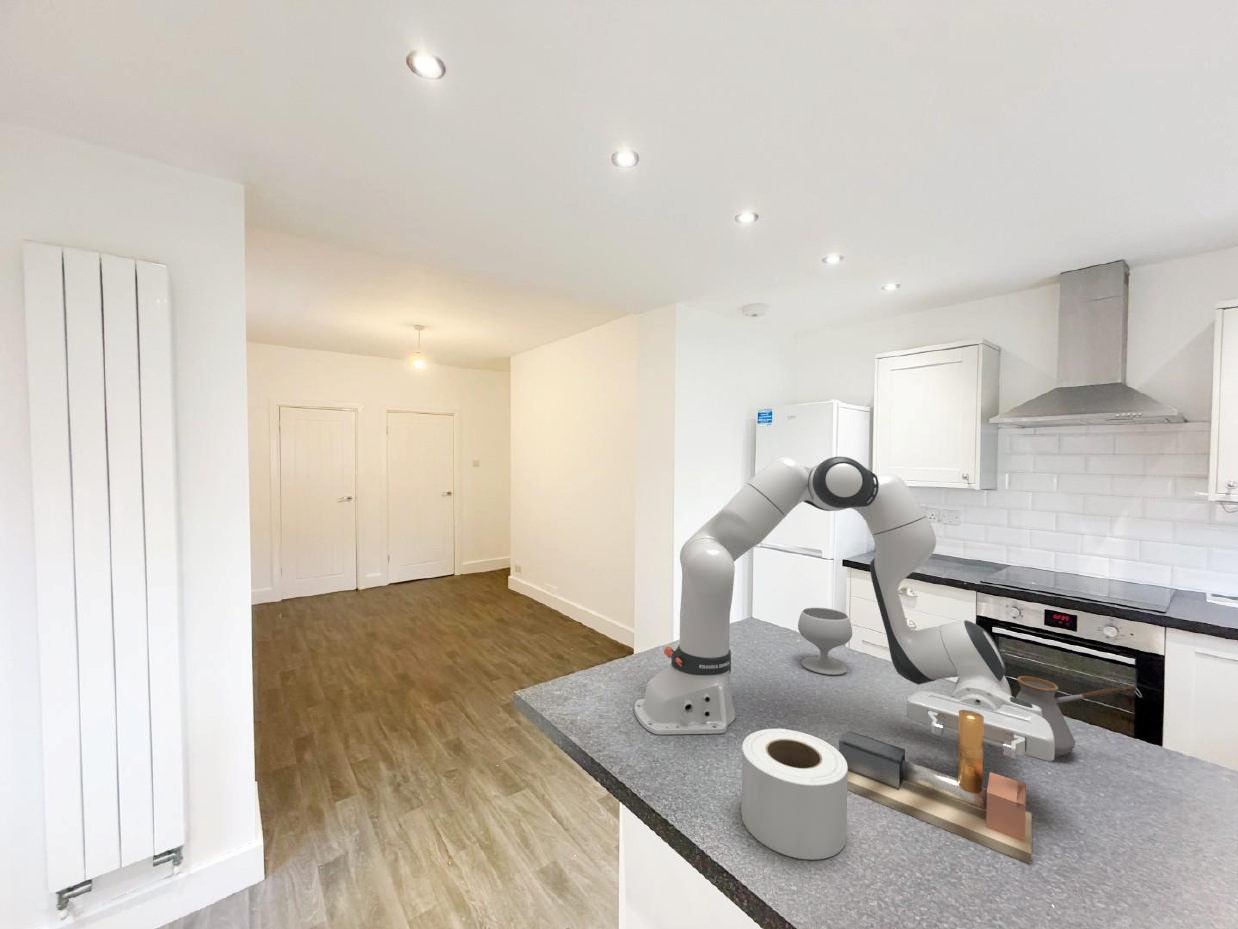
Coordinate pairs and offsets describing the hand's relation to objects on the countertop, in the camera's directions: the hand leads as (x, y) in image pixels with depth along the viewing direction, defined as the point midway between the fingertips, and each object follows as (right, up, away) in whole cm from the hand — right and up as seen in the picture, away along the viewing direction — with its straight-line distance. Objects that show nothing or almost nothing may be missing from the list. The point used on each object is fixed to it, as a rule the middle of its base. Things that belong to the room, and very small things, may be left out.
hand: (971, 741), depth 79 cm
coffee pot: (+32, -13, +19) cm, 40 cm away
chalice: (+1, -13, +59) cm, 60 cm away
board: (-5, -12, +3) cm, 14 cm away
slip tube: (-3, -10, +1) cm, 10 cm away
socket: (+3, -11, -3) cm, 12 cm away
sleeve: (-12, -10, +9) cm, 18 cm away
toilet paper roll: (-29, -12, -2) cm, 32 cm away
